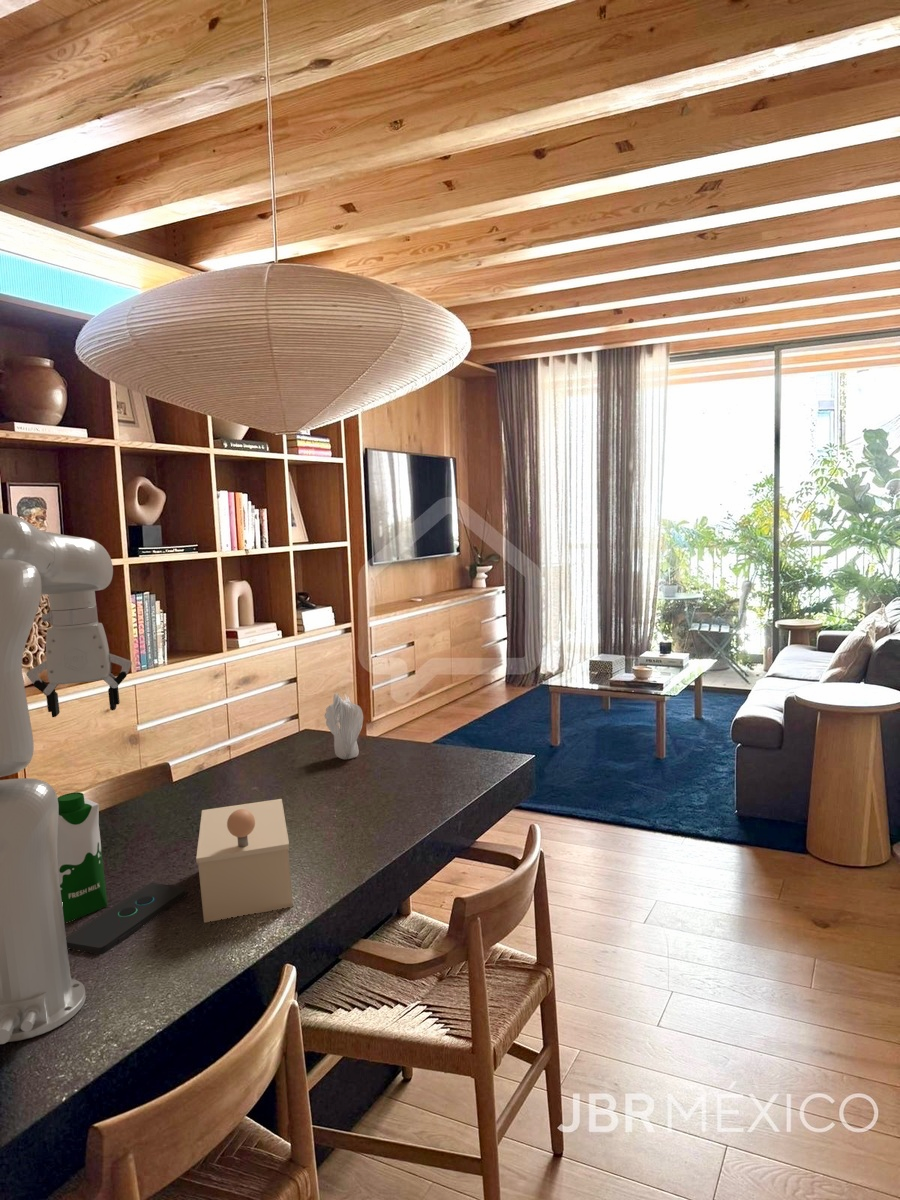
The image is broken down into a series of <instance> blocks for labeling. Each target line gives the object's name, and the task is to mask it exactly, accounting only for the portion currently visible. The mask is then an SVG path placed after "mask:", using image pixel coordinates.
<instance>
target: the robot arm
mask: <svg viewBox="0 0 900 1200" xmlns="http://www.w3.org/2000/svg"><path fill="white" fill-rule="evenodd" d="M113 575H114V565H113V560H112V558H111V555H110V554H109V552H108V551H107V549H106V548H105V547H104V546H103V545H102V544H100V543H99V542H98V541H96V540H94V539H90V538H86V537H80V536H73V535H66V534H61V533H57V532H56V533H55V532H50V531H43V530H41V529H39V528H37V527H36V526H34V525H33V524H31V523H30V522H28V521H26V520H24V519H23V518H21V517H20V516H16V515H14V514H8V513H0V778H2V777H7V776H10V775H14V774H17V773H20V772H21V771H23V770H25V769H26V768H27V767H28V766H29V764H30V763H31V761H32V759H33V755H34V747H35V746H34V735H33V729H32V723H31V717H30V711H29V706H28V700H27V695H26V687H25V684H24V683H25V682H24V675H23V670H22V669H23V667H22V666H23V665H22V664H23V657H24V651H25V648H26V645H27V642H28V638H29V636H30V633H31V630H32V628H33V625H34V622H35V619H36V617H37V613H38V610H39V607H40V602H41V597H42V595H48V604H49V611H48V612H47V613H44V614H41V621H42V622H45V623H46V622H47V623H49V624H50V626H51V627H49V628H47V629H46V638H45V659H46V660H45V661H43V662H41V663H40V664H38V665H37V666H35V667H33V668H32V669H30V670H28V671H27V672H26V677H28V680H30V682H31V683H32V684H33V686H34V688H36V689H37V690H38V691H40V692H41V693H42V694H43V695H44V696H46V706H47V712H48V713H51V717H52V718H56V717H58V716H59V715H60V702H59V695H58V692H57V691H56V688H57V687H58V686H59V685H67V684H79V683H88V682H96V681H104V682H105V683H106V684H107V685H109V688H108V690H107V691H108V693H107V694H108V701H109V710H111V711H115V710H116V709H117V707H118V706H117V705H120V701H121V700H120V693H119V685H120V684H121V683H122V682H123V680H125V678H126V677H127V676H128V674H129V671H130V670H131V667H132V665H133V661H131V660H129V659H128V658H124V657H121V656H118V655H115V654H112V653H110V648H109V643H108V638H107V635H106V632H105V628H104V625H103V623H102V622H99V617H98V607H97V601H96V592H97V591H102V590H103V591H104V590H105V589H106V588H107V587H109V585H111V583H112V580H113ZM112 663H113V664H115V665H118V666H120V667H121V670H120V672H119V673H118V675H117V676H115V675H114V674H113V673H111V672H112ZM45 670H46V677H47V681H48V683H47V682H45V681H44V680H42V679H41V677H40V676H39V674H40V673H41V672H44V671H45ZM58 815H59V805H58V795H57V793H56V791H55V789H54V787H53V786H52V785H50V784H49V783H48V782H45V781H44V780H41V779H37V778H25V777H23V778H9V779H7V778H6V779H0V1045H4V1044H6V1043H9V1042H10V1043H11V1042H19V1041H23V1040H27V1039H31V1038H35V1037H37V1036H40V1035H43V1034H46V1033H48V1032H50V1031H52V1030H54V1029H56V1028H58V1027H60V1026H61V1025H63V1024H65V1023H67V1022H68V1021H70V1020H71V1018H73V1017H74V1016H76V1014H77V1013H78V1012H79V1011H80V1010H81V1009H82V1008H83V1006H84V1004H85V1001H86V999H87V996H86V988H85V985H84V984H83V983H82V982H81V981H79V980H77V979H74V978H72V977H71V969H70V960H69V951H68V950H69V949H67V941H66V937H67V935H66V923H65V922H64V916H63V907H62V899H61V890H60V882H59V873H58V862H57V831H58Z"/></svg>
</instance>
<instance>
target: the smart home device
mask: <svg viewBox="0 0 900 1200" xmlns="http://www.w3.org/2000/svg"><path fill="white" fill-rule="evenodd" d="M187 895H188V892H187V887H185V886H180V885H179V886H178V885H171V884H164V883H163V884H162V883H156V882H151V883H148V884H146V885H144V886H143V887H141V888H140V889H139V890H137V891H135V892H134V893H132V894H131V895H129V896H127V897H126V898H124V899H123V900H121V901H120V902H118V903H117V904H114V906H112V907H111V908H109V909H108V910H106V911H104V912H103V913H102V914H100V915H98V916H97V917H95V918H94V919H92V920H91V921H88V923H85V924H84V925H83V926H81V927H80V928H78V929H77V930H75V931H73V932H72V933H71V934H69V935H66V941H67V948H70V949H74V950H73V951H76V950H80V951H79V952H82V951H85V952H84V953H87V952H91V953H90V954H93V953H96V954H95V955H99V954H101V955H103V954H106V953H107V952H109V951H110V950H111V949H112V948H114V947H115V946H117V945H118V944H119V943H122V942H123V941H124V940H126V939H127V938H129V937H130V936H131V935H133V934H134V933H135V932H136V931H138V930H139V928H140V929H142V928H143V927H144V926H145V925H146V923H147V924H148V923H149V921H150V920H151V919H152V920H154V919H156V918H157V917H158V916H159V915H161V914H163V911H164V912H165V911H167V909H169V908H171V907H172V906H174V905H175V904H176V903H178V902H179V901H182V899H183V898H185V897H186V896H187ZM184 896H185V897H184ZM160 913H161V914H160ZM157 915H158V916H157ZM156 916H157V917H156ZM153 918H154V919H153ZM152 920H151V921H152ZM151 921H150V922H151ZM143 925H144V926H143ZM70 949H69V950H70Z"/></svg>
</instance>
